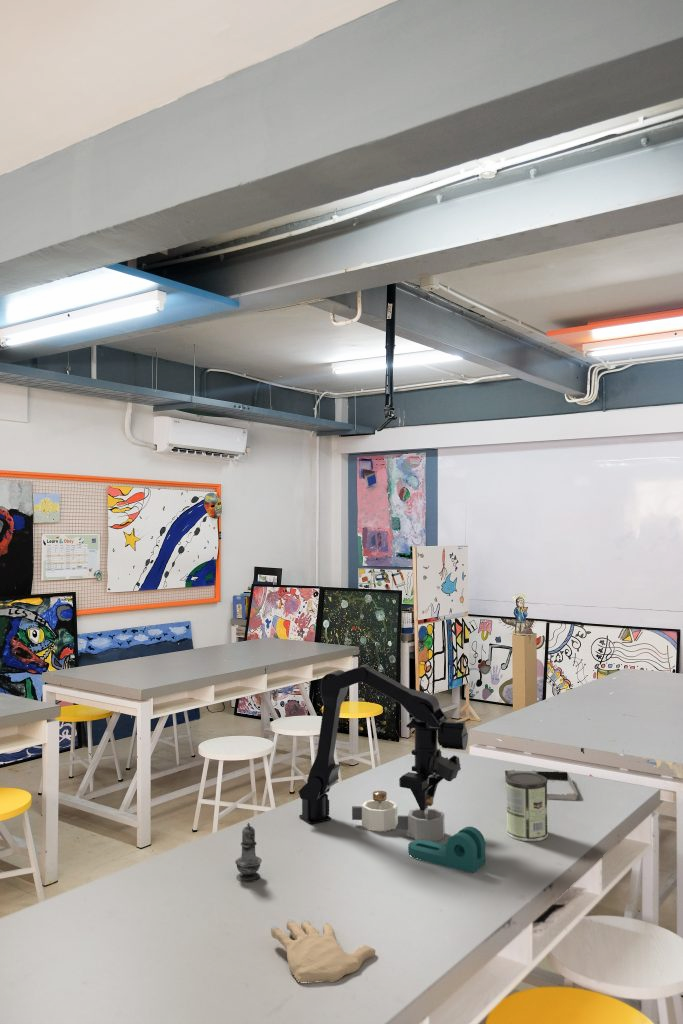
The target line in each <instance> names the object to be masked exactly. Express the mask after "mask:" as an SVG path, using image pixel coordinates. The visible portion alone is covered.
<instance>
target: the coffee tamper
mask: <svg viewBox="0 0 683 1024" xmlns="http://www.w3.org/2000/svg"><path fill="white" fill-rule="evenodd" d="M429 805H432V806H433V805H434V799H433V796H431V795H427V800H426V807H425V810H424V819H428V808H429V807H430V806H429Z"/></svg>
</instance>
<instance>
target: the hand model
mask: <svg viewBox="0 0 683 1024" xmlns="http://www.w3.org/2000/svg"><path fill="white" fill-rule="evenodd" d="M285 926H286V929H287V930H288V931H289V933H290V935H291V936H292V938H293V939H291V938H290V937H289V936H288V935H287V933H285V932H283V930H282V929H280V927H279V926H277V925H275V924H274V925H272V926H270V935H271V937H272V938H273V939H276V940H277V941H278V942H279V943H280V944H281V945H282V946H283V947H284V948H285V950H286V958H287V964H288V967H289V969H290V972H291V974H292V976H293V975H294V976H293V977H294V979H295V978H296V979H295V980H296V981H299V982H307V983H308V982H316V981H336V980H338V981H339V980H340V979H342V978H343V977H344V976H345V975H350V974H352V973H355V972H357V971H359V969H360V968H361V965H362V964H363V963H364V962H365V961H366V960H369V959H370V958H374V957H375V956H376V949H375V948H373V947H371V946H369V945H367V944H366V945H362V946H359V947H358V948H357V949H355V951H353V952H352V953H348V952H346V951H345V950H343V948H342V947H341V946H340V943H338V941H337V939H336V935H335V934H336V932H335V930H334V928H333V927H332V926H333V925H331V924H330V923H329V922H327V923H324V925H323V926H322V931H323V934H320V931H319V930H318V929H317V927H315V926H313V925H312V924H311V922H310V921H309V920H307V919H303V920H302V921H301V922H300V925H299V924H298V923H297V922H296V921H295V920H294V919H292V918H290V919H287V921H286V925H285ZM363 961H364V962H363ZM299 982H298V983H299ZM336 982H337V981H336ZM316 983H317V982H316ZM308 984H309V983H308Z"/></svg>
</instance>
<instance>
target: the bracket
mask: <svg viewBox="0 0 683 1024" xmlns="http://www.w3.org/2000/svg"><path fill="white" fill-rule="evenodd" d="M407 847H408V848H407V849H408V850H407V851H408V853H409V855H411V856H412V857H414V858H418V859H421V860H420V861H422V860H424V861H423V862H426V861H428V862H427V863H430V862H431V863H430V864H435V865H439V866H442V867H443V866H444V867H447V868H451V869H455V870H459V871H463V872H466V873H471V874H474V873H476V872H477V870H479V869H480V868H481V867H483V866H484V865H485V864H486V839H485V836H484V835H483V834H482V832H481V830H479V829H478V828H476V827H473V826H465V827H463V828H462V829H460V830H459V831H458V832H457V833H454V834H453V835H452V836H450V837H449V838H448V839H447V841H446V844H443V843H440V842H437V841H433V842H431V841H427V840H413V841H412V840H411V841H410V842H409V843H408V845H407ZM408 853H407V854H408ZM409 855H408V856H409ZM412 857H411V858H412ZM414 858H413V859H414ZM418 859H417V860H418Z"/></svg>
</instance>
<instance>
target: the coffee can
mask: <svg viewBox="0 0 683 1024" xmlns="http://www.w3.org/2000/svg"><path fill="white" fill-rule="evenodd" d="M505 785H506V834H507V835H508V836H509V837H510V838H512V839H514V840H516V841H523V842H540V841H543V840H545V839H547V838H548V836H549V834H548V799H547V794H548V779H547V778H546V777H544V776H542V775H539V774H534V773H513V774H509V775H507V776H506V779H505Z"/></svg>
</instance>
